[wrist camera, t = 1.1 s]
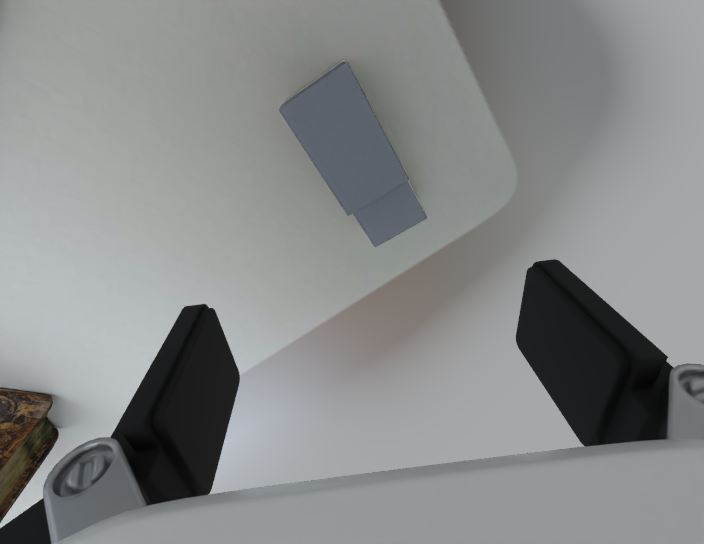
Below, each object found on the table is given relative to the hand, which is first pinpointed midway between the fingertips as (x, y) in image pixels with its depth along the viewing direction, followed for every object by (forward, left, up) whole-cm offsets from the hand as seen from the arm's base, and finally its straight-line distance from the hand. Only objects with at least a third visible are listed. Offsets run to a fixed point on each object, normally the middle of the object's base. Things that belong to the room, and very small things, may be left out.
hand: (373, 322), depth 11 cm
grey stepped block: (-1, 0, -18) cm, 18 cm away
